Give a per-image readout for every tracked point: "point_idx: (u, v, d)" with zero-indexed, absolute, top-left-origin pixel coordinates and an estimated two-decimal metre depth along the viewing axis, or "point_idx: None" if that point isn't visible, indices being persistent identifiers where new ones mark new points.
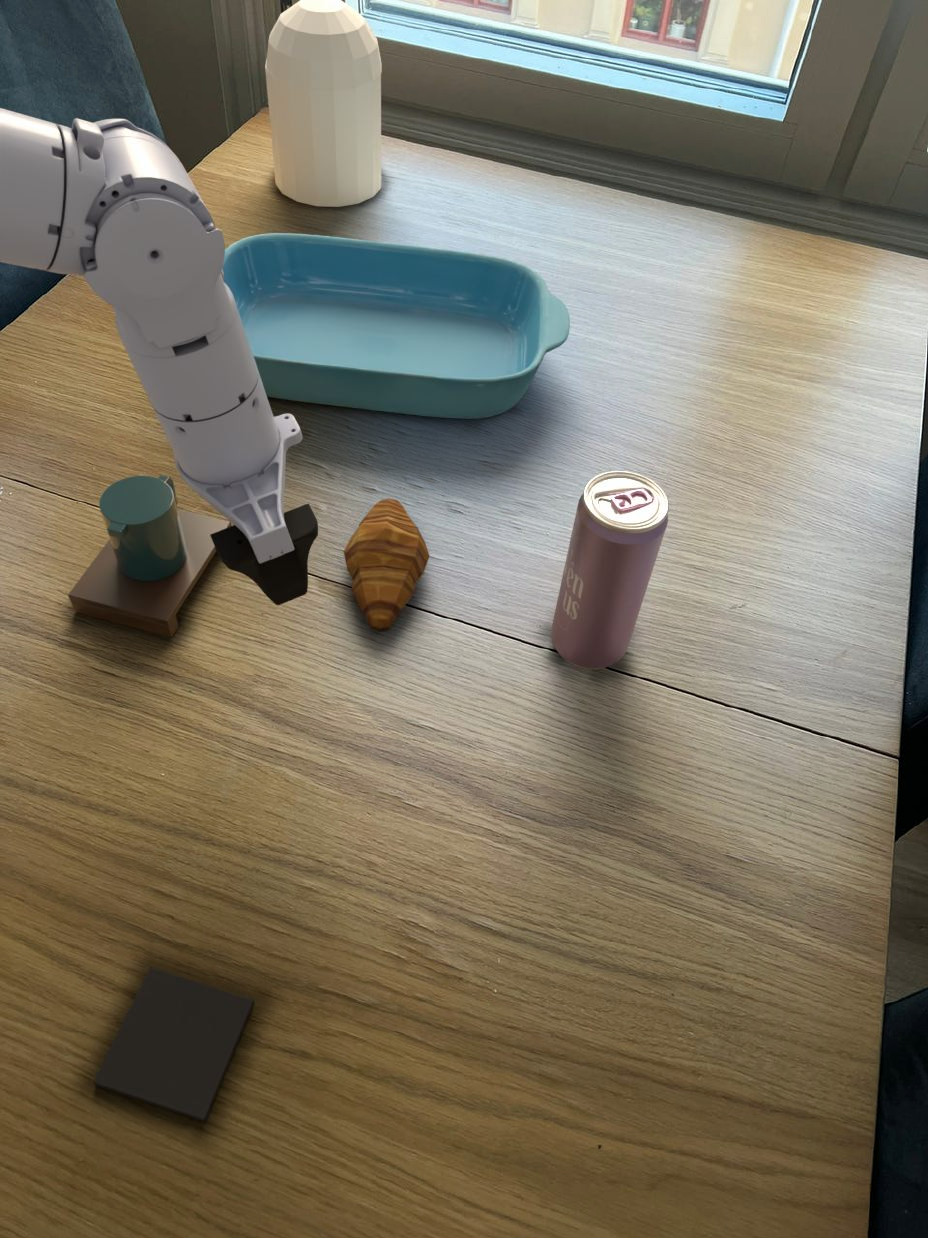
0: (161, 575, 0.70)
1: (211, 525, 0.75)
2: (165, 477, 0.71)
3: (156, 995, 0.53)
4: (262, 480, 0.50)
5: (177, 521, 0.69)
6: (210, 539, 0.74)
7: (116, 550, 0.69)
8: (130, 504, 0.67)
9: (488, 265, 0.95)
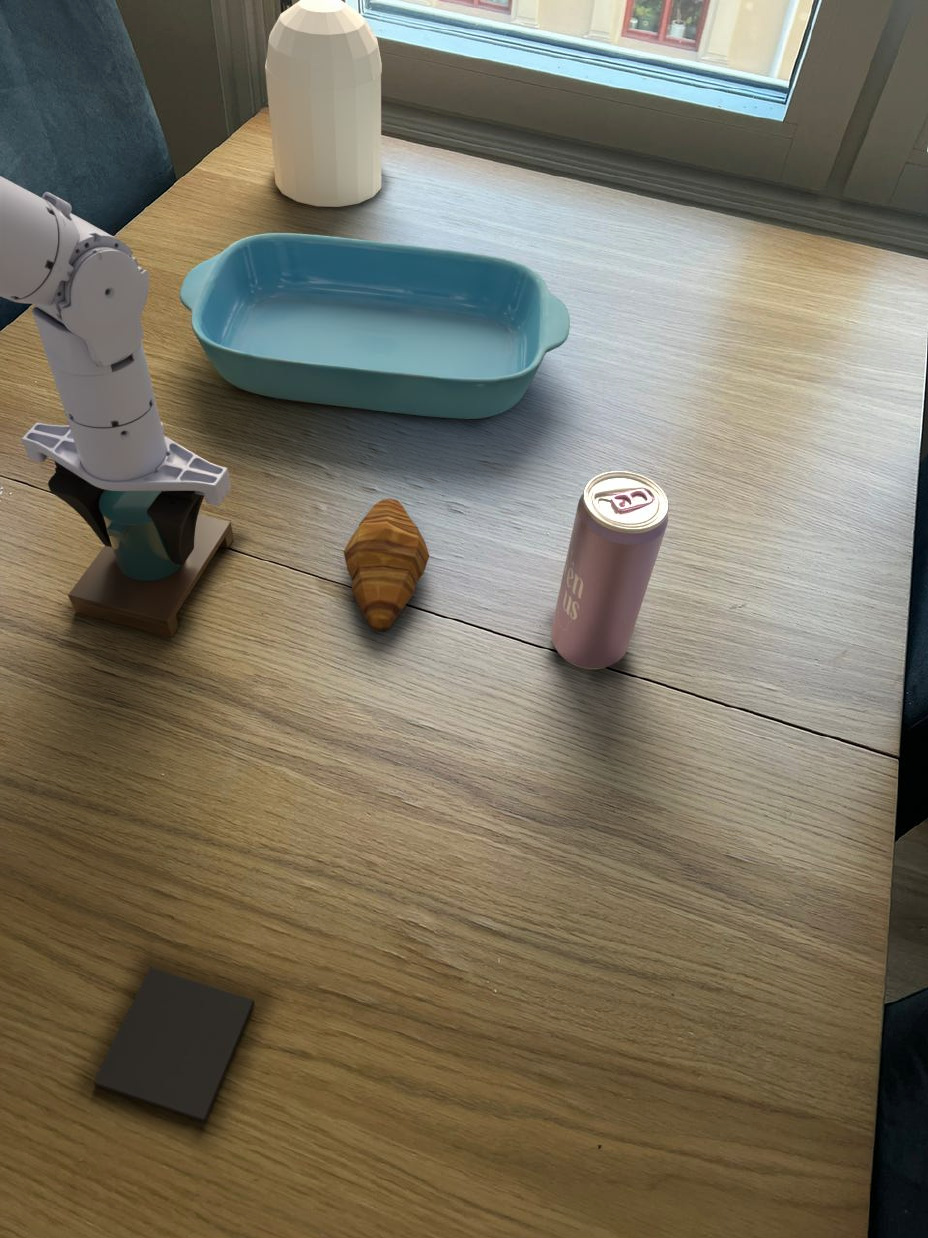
0: (161, 574, 0.70)
1: (211, 525, 0.75)
2: None
3: (156, 995, 0.53)
4: (171, 459, 0.65)
5: None
6: (210, 539, 0.74)
7: (116, 550, 0.69)
8: (129, 504, 0.67)
9: (488, 265, 0.95)
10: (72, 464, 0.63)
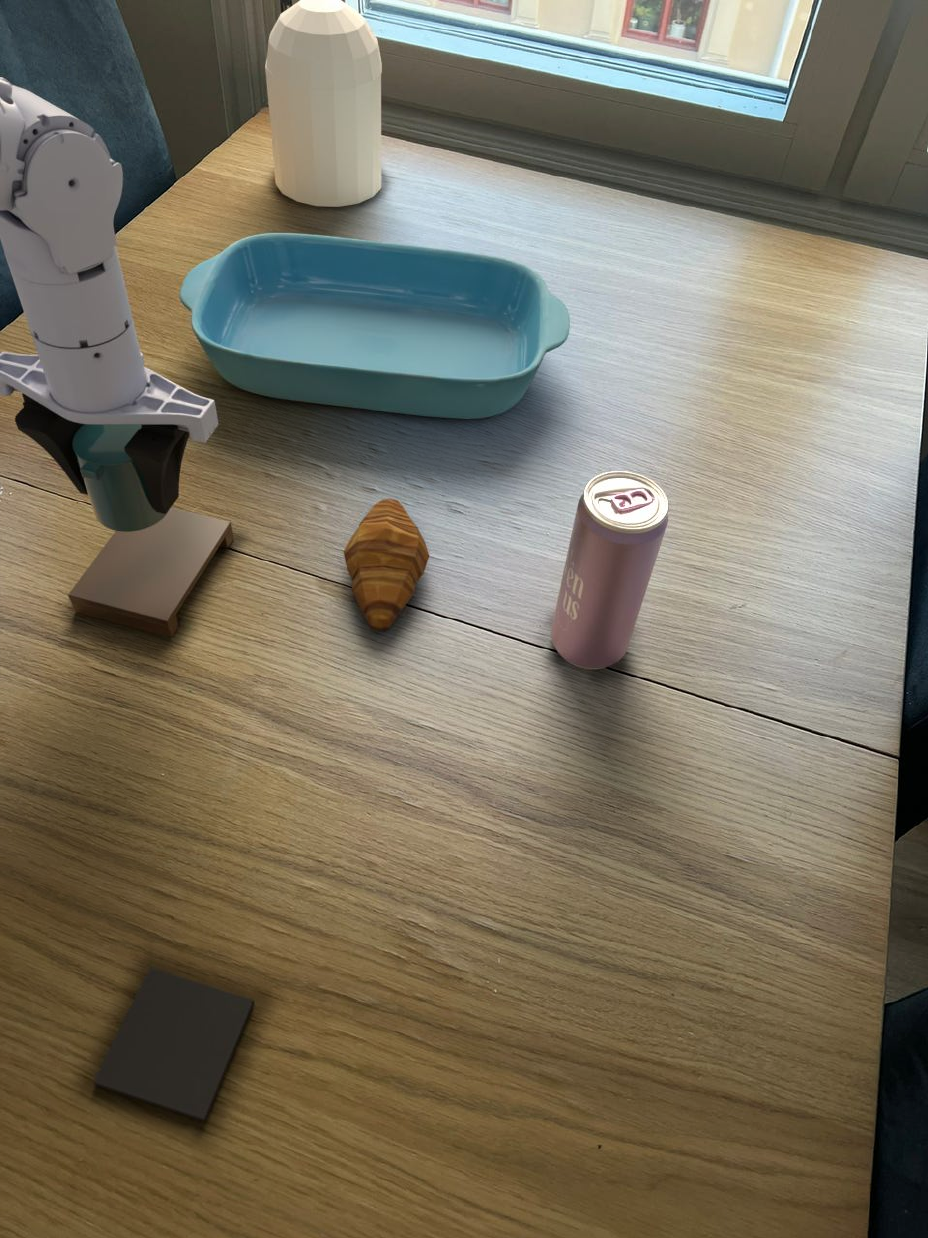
0: (142, 524, 0.64)
1: (211, 525, 0.75)
2: None
3: (156, 995, 0.53)
4: (152, 390, 0.58)
5: None
6: (210, 539, 0.74)
7: (91, 496, 0.62)
8: (106, 443, 0.61)
9: (488, 265, 0.95)
10: (41, 395, 0.57)
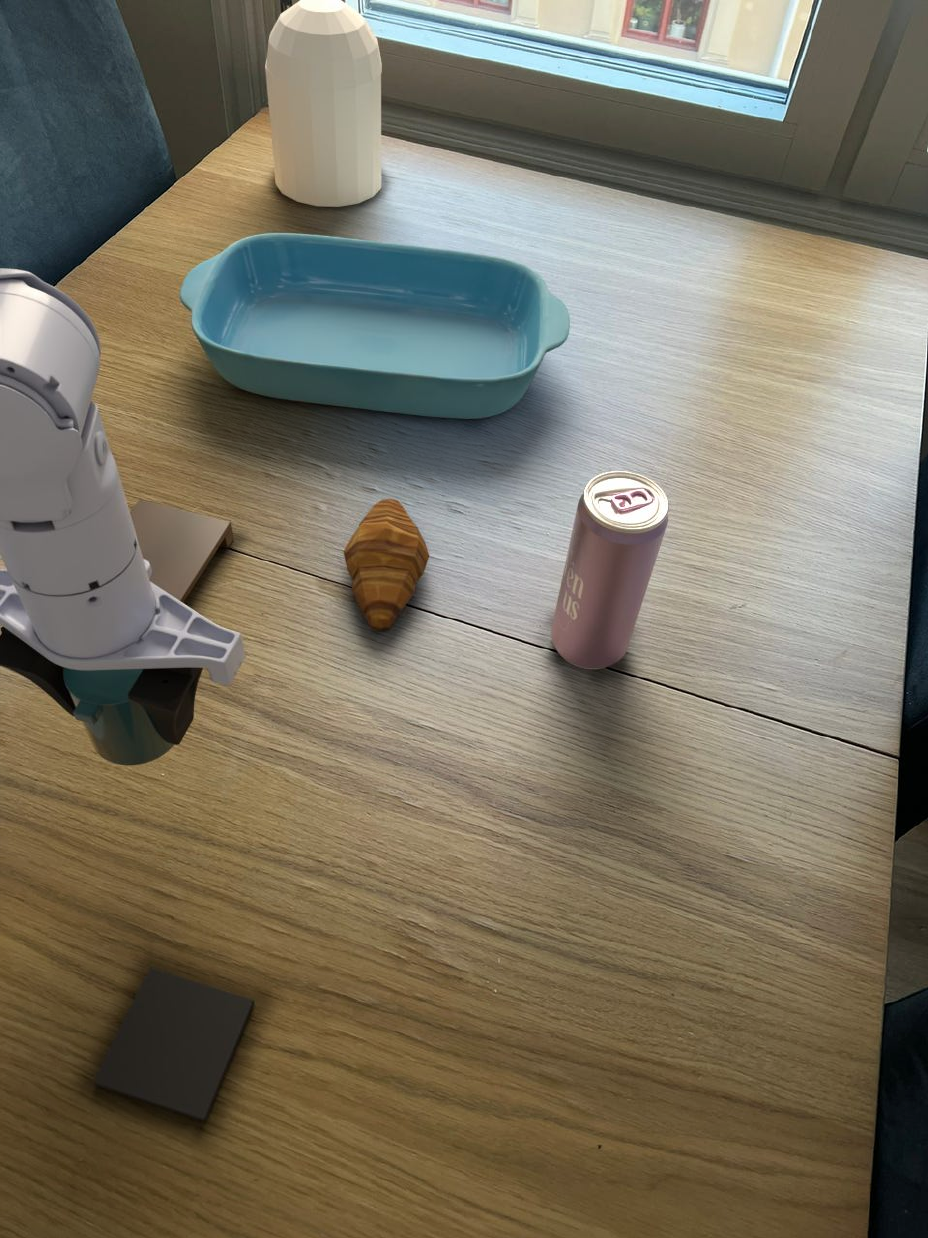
0: (150, 757, 0.52)
1: (211, 525, 0.75)
2: None
3: (156, 995, 0.53)
4: (162, 618, 0.46)
5: None
6: (210, 539, 0.74)
7: (87, 729, 0.50)
8: (105, 672, 0.49)
9: (488, 265, 0.95)
10: (22, 632, 0.45)
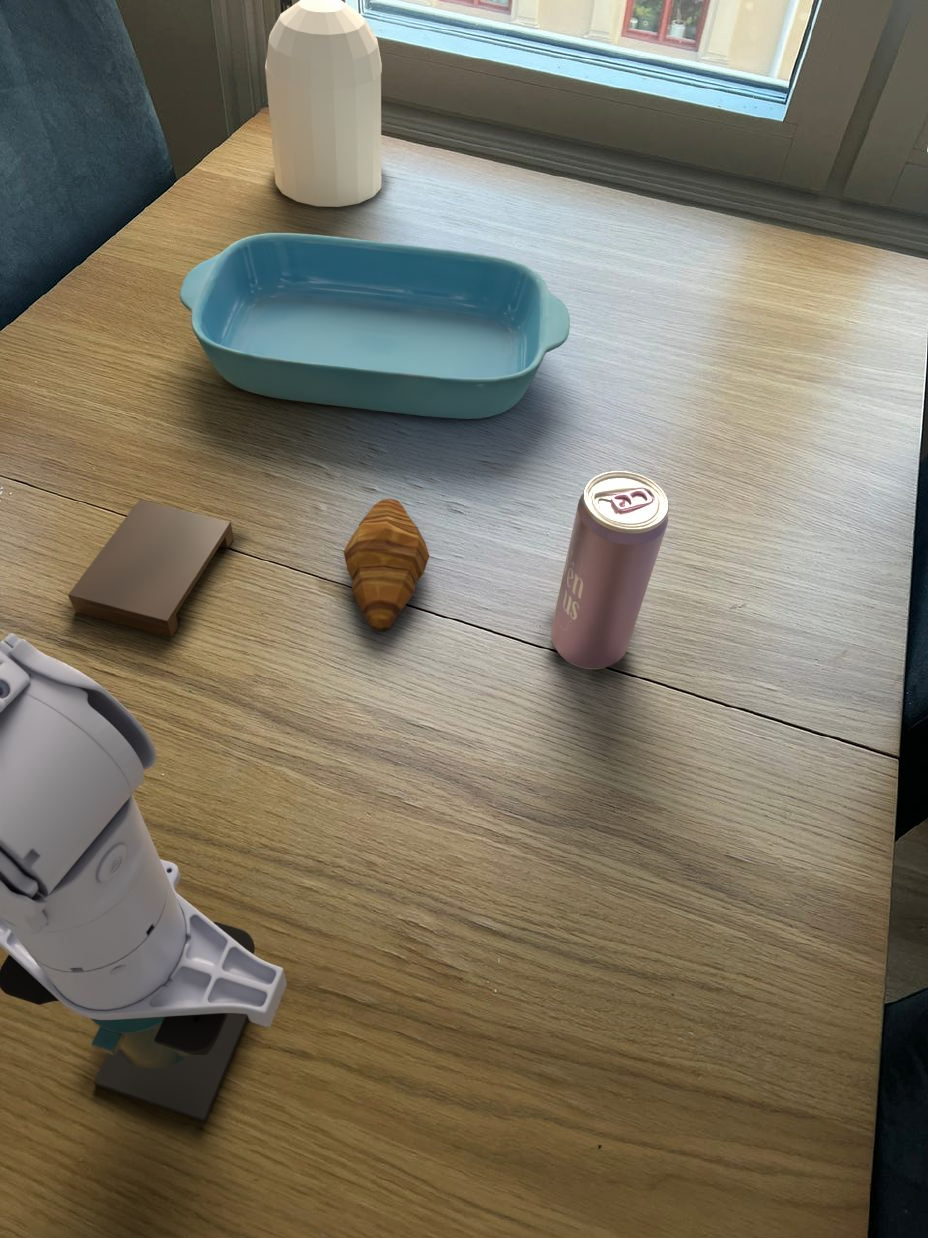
0: (176, 1060, 0.46)
1: (211, 525, 0.75)
2: None
3: None
4: (193, 945, 0.41)
5: None
6: (210, 539, 0.74)
7: None
8: None
9: (488, 265, 0.95)
10: (34, 973, 0.39)
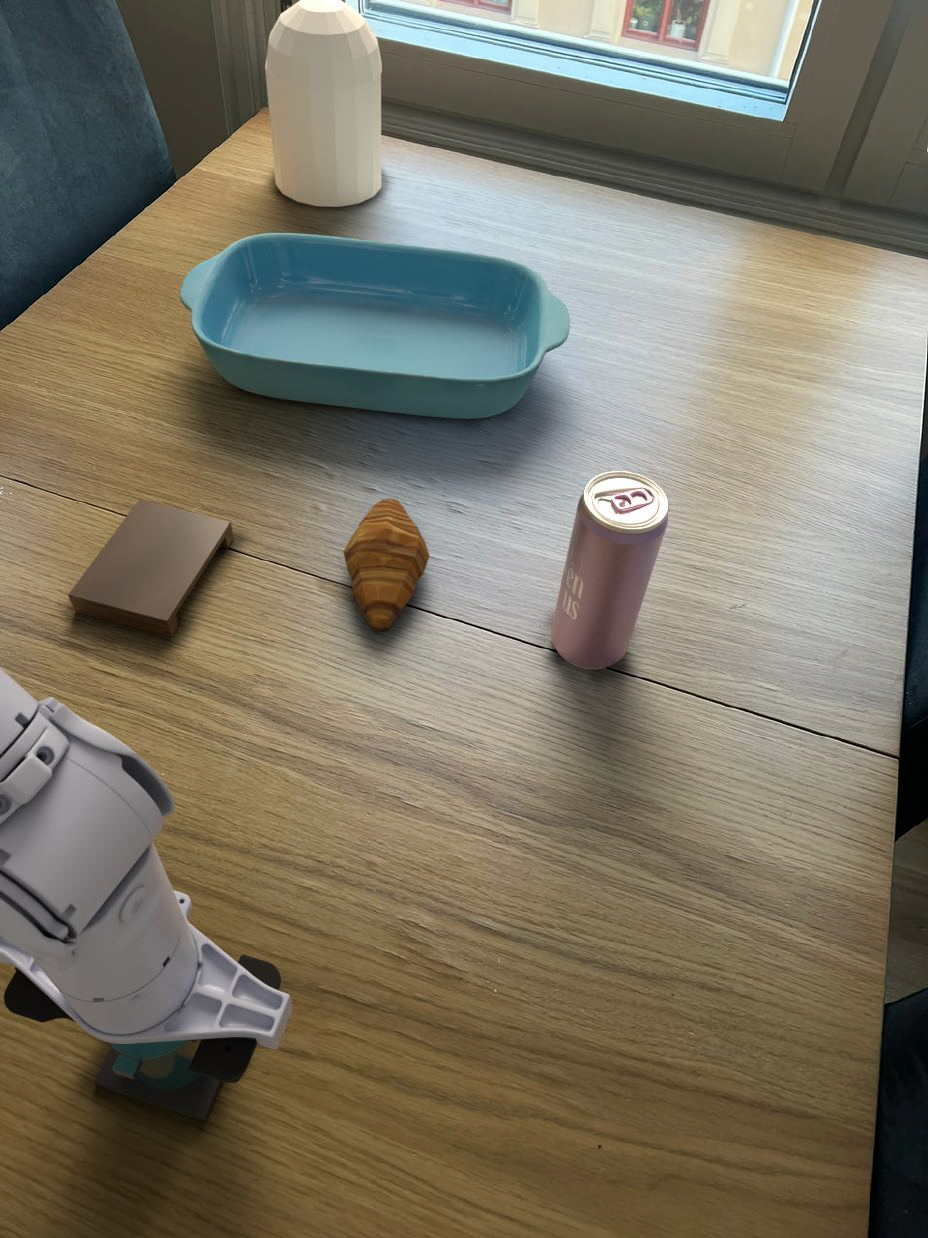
0: (189, 1082, 0.50)
1: (211, 525, 0.75)
2: None
3: None
4: (205, 972, 0.43)
5: None
6: (210, 539, 0.74)
7: None
8: None
9: (488, 265, 0.95)
10: (56, 999, 0.42)
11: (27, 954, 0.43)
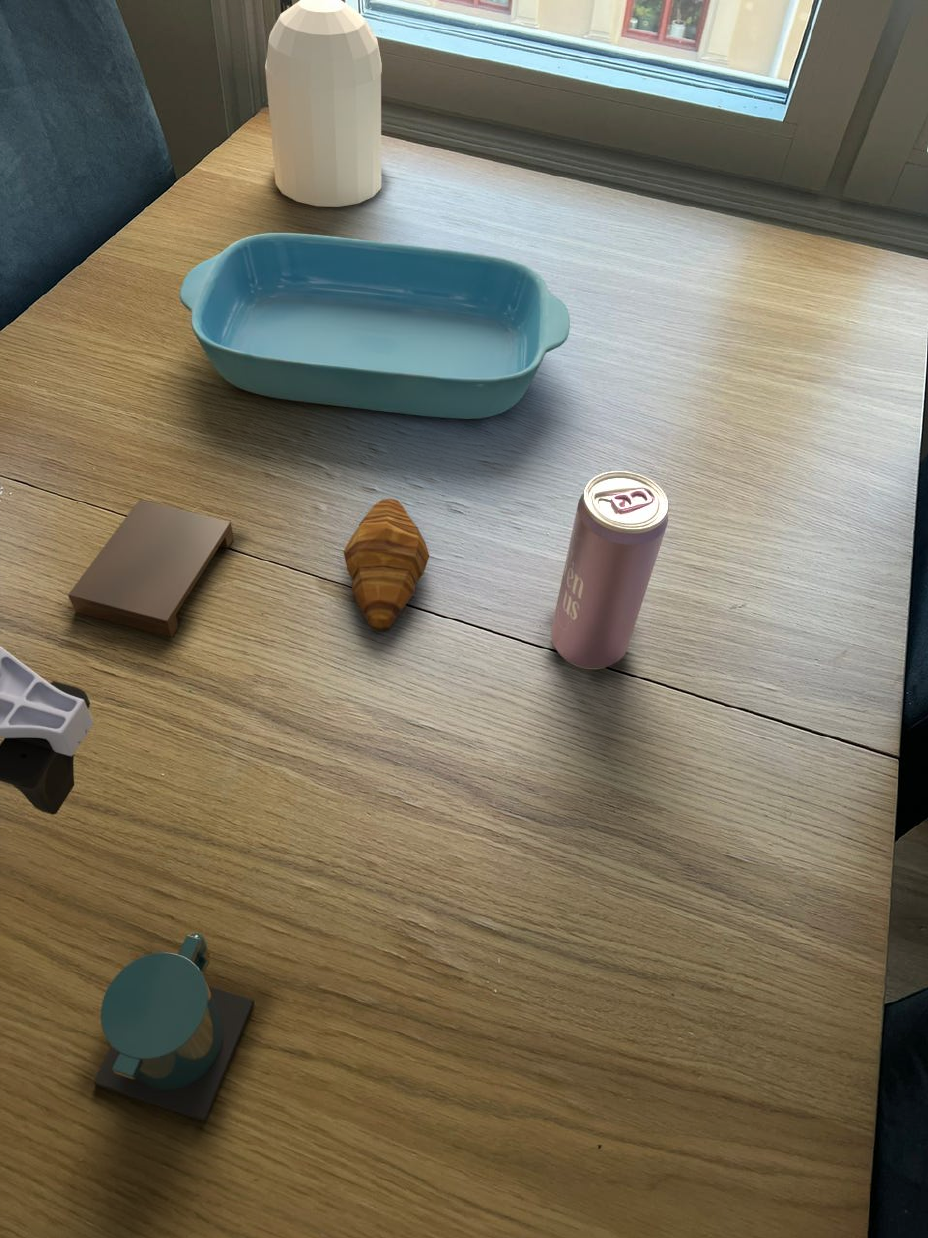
0: (189, 1082, 0.50)
1: (211, 525, 0.75)
2: (194, 940, 0.50)
3: None
4: (3, 682, 0.43)
5: (212, 1018, 0.48)
6: (210, 539, 0.74)
7: None
8: (145, 1015, 0.46)
9: (488, 265, 0.95)
10: None
11: None
